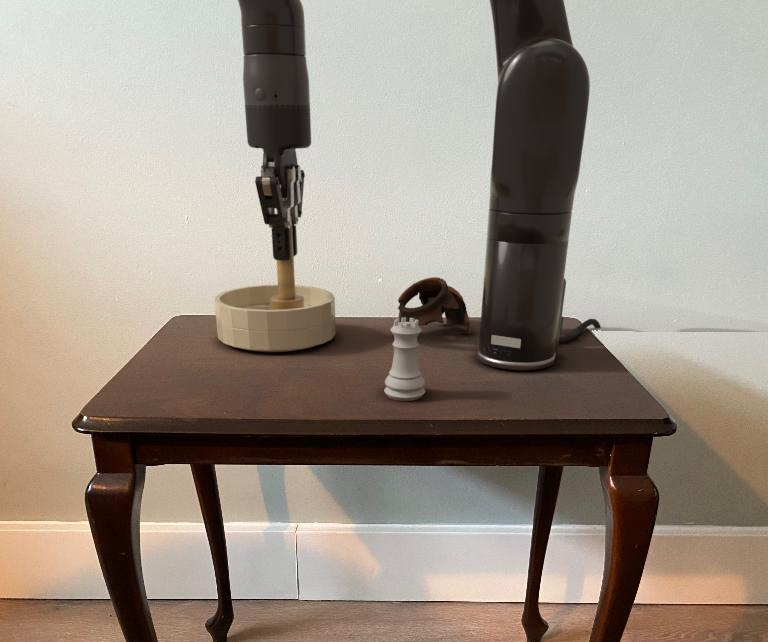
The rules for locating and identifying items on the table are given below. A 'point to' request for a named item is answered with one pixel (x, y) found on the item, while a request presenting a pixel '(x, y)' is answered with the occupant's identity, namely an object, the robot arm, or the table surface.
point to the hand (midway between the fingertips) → (285, 257)
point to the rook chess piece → (405, 363)
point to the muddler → (286, 284)
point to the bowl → (274, 319)
